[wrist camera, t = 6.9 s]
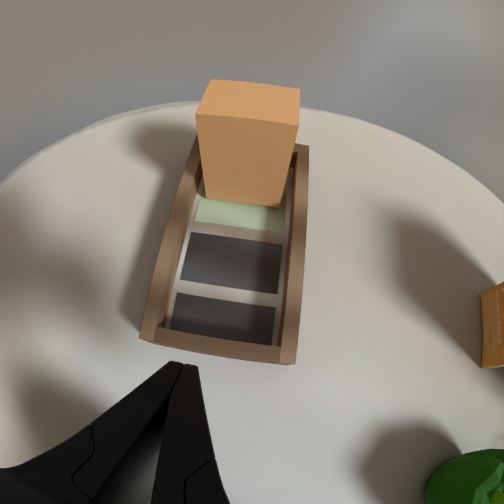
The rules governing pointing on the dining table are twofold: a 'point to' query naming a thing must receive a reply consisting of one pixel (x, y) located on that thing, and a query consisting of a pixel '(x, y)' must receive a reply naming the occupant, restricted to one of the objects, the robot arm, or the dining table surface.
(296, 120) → the block
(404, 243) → the dining table surface
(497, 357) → the small box
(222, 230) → the tray
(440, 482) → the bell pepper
